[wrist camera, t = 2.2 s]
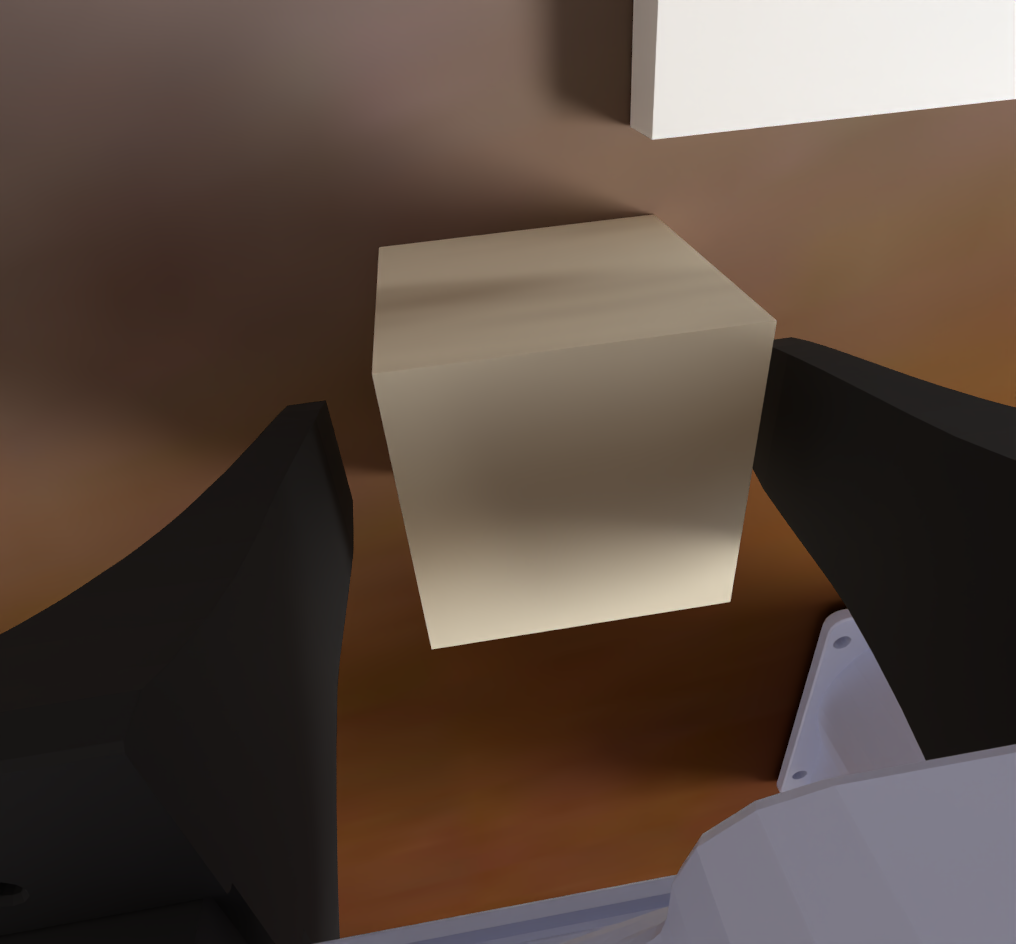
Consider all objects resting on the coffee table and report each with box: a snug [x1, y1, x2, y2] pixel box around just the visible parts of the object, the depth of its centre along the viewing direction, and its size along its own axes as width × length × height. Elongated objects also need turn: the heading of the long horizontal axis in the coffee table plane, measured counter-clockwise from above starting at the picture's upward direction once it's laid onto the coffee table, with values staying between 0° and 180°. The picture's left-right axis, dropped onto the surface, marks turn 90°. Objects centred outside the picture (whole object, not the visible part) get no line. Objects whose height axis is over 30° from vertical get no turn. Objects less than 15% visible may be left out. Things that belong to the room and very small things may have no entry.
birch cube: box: [372, 214, 777, 649], centre depth 12 cm, size 5×5×5 cm
